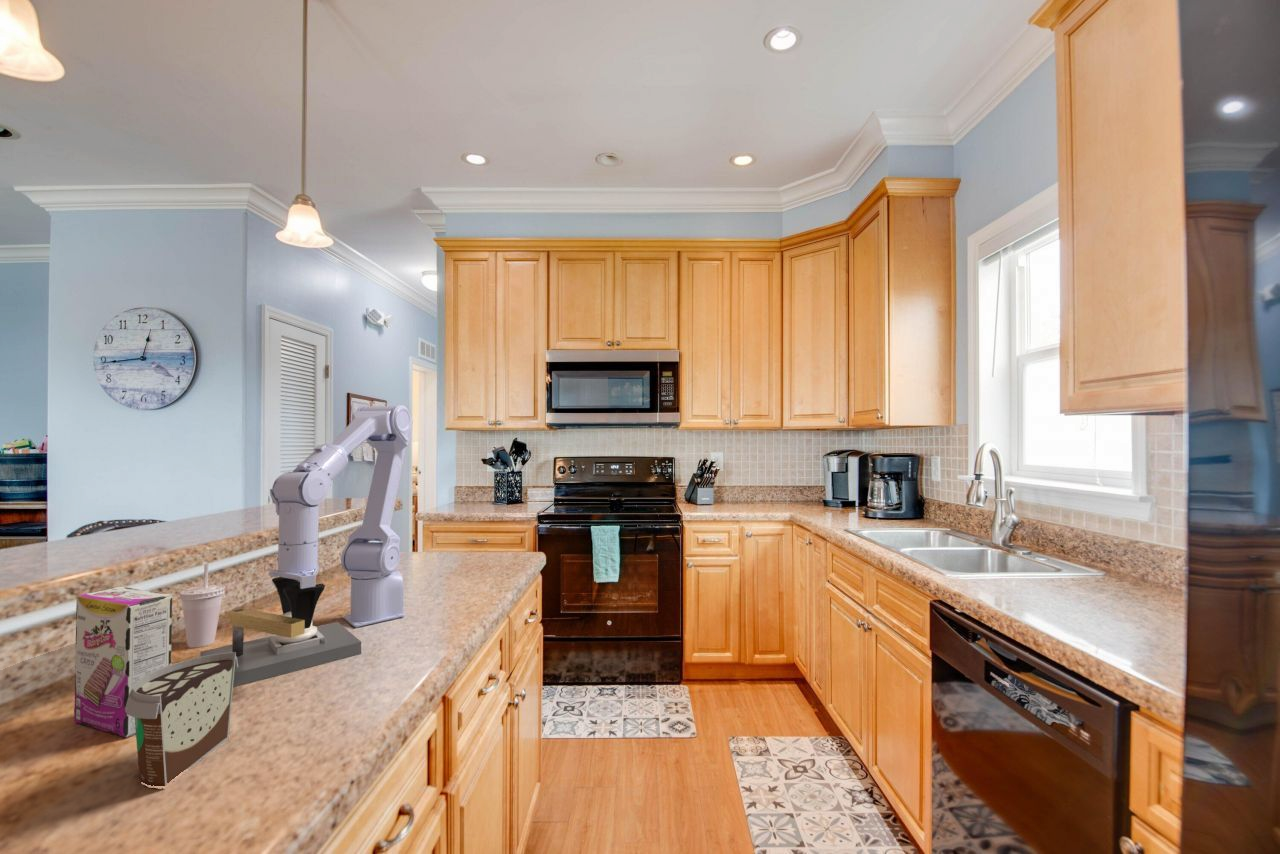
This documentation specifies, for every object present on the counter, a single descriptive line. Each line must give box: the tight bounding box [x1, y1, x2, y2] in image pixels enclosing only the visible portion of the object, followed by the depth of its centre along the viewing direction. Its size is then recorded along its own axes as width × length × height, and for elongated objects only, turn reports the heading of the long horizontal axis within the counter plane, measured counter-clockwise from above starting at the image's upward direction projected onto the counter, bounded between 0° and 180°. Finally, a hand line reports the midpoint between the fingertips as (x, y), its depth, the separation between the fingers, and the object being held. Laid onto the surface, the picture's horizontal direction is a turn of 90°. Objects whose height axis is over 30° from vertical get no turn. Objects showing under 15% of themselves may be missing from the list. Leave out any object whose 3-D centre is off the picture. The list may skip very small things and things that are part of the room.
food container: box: [125, 652, 238, 786], centre depth 59 cm, size 12×6×10 cm, turn 5°
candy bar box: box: [73, 586, 173, 738], centre depth 67 cm, size 11×5×16 cm, turn 71°
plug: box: [276, 612, 317, 646], centre depth 88 cm, size 6×6×5 cm
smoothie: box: [178, 563, 226, 649], centre depth 94 cm, size 6×6×14 cm
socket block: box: [199, 621, 362, 688], centre depth 87 cm, size 20×14×3 cm
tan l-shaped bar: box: [228, 607, 305, 657], centre depth 80 cm, size 15×2×7 cm, turn 67°
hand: (296, 622), depth 88 cm, fingers open, 7 cm apart
